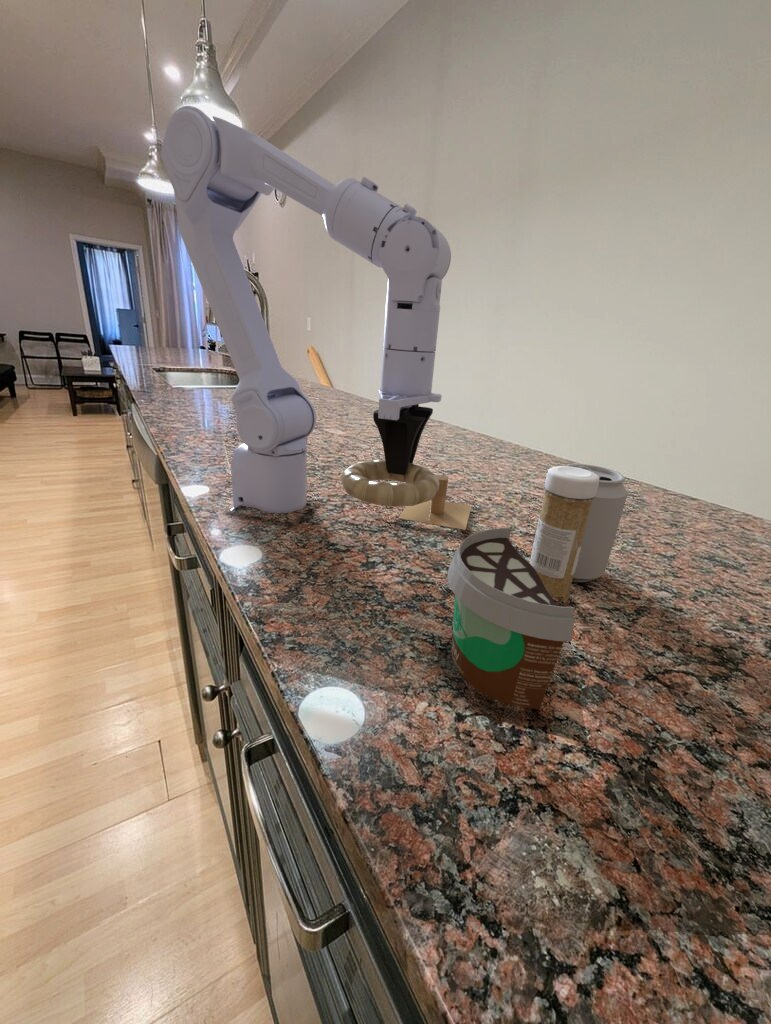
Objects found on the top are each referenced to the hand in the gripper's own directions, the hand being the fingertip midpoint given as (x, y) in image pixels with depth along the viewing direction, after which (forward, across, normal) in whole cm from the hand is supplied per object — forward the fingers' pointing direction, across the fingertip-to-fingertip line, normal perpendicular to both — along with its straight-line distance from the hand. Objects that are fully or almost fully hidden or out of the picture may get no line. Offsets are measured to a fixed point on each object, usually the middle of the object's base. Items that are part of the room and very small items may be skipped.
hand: (399, 469), depth 54 cm
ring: (0, -4, 0) cm, 4 cm away
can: (+9, 0, -21) cm, 23 cm away
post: (+9, +8, -4) cm, 12 cm away
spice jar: (+9, -7, -18) cm, 22 cm away
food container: (+9, -21, -12) cm, 26 cm away
